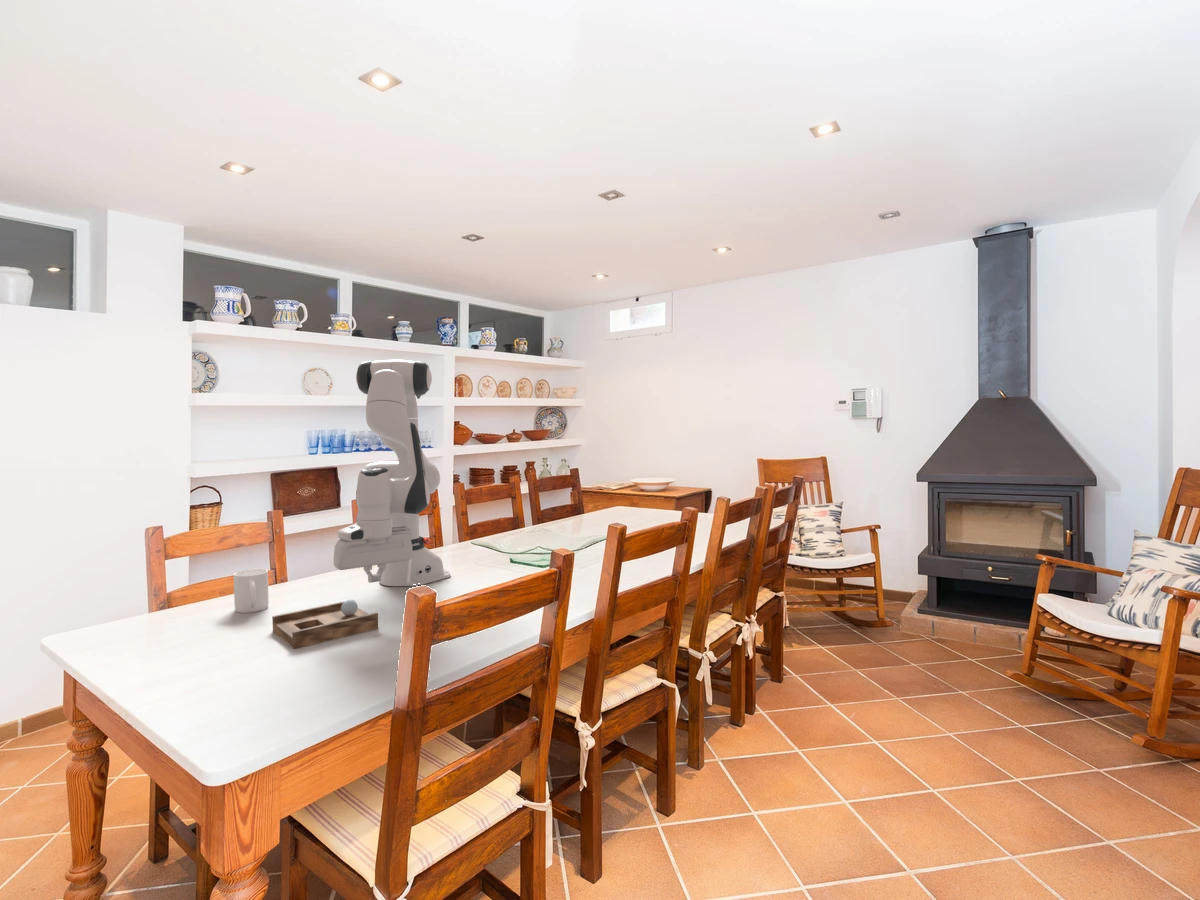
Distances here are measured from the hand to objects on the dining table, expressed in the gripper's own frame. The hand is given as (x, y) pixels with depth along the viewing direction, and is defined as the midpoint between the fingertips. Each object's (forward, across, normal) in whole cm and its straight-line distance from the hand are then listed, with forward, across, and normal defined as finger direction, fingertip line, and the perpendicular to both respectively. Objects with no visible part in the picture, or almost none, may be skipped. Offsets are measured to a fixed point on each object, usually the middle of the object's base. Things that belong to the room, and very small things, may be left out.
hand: (374, 581), depth 163 cm
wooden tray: (+10, +12, -1) cm, 16 cm away
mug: (+10, +21, -31) cm, 39 cm away
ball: (+8, +6, -1) cm, 10 cm away
